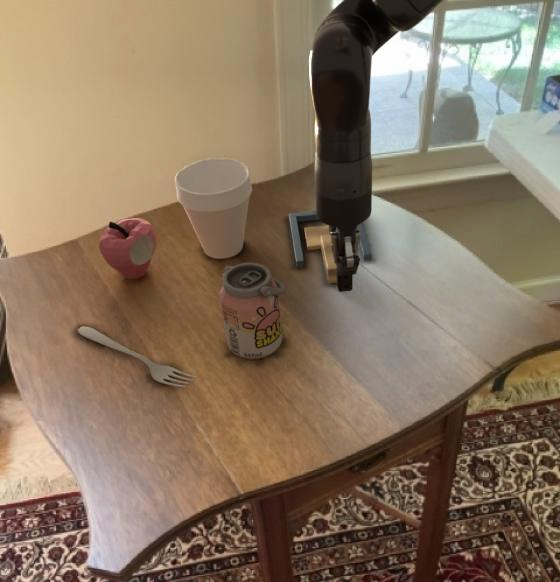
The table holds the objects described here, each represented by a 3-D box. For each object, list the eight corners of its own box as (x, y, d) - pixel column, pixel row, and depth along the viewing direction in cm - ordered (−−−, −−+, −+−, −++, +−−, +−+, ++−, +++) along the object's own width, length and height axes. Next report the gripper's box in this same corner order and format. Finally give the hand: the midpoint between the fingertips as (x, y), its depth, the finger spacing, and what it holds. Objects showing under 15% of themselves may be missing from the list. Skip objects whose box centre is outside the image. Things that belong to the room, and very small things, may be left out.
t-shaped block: (357, 281, 105) (357, 266, 103) (313, 285, 105) (313, 270, 103) (343, 227, 116) (343, 213, 114) (304, 231, 116) (303, 217, 114)
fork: (87, 322, 102) (84, 314, 101) (201, 384, 91) (199, 375, 89) (71, 334, 100) (68, 325, 99) (185, 398, 89) (183, 389, 88)
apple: (126, 295, 106) (111, 243, 100) (98, 274, 111) (82, 223, 104) (174, 269, 111) (162, 217, 104) (145, 250, 116) (132, 199, 109)
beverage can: (260, 314, 101) (252, 247, 92) (300, 337, 96) (296, 269, 88) (215, 345, 96) (203, 278, 88) (255, 371, 92) (246, 303, 83)
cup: (218, 277, 108) (206, 203, 99) (174, 249, 115) (158, 178, 106) (272, 245, 114) (266, 172, 104) (227, 221, 121) (217, 150, 111)
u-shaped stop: (371, 260, 109) (371, 253, 108) (296, 267, 109) (296, 261, 108) (357, 212, 120) (357, 206, 119) (289, 219, 120) (288, 213, 119)
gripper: (380, 205, 82) (377, 313, 94) (363, 157, 92) (362, 261, 104) (321, 211, 82) (325, 318, 94) (310, 163, 92) (315, 266, 104)
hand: (344, 288), depth 99 cm, fingers closed
